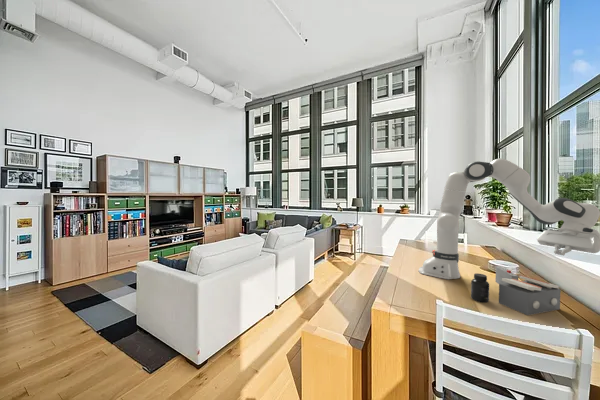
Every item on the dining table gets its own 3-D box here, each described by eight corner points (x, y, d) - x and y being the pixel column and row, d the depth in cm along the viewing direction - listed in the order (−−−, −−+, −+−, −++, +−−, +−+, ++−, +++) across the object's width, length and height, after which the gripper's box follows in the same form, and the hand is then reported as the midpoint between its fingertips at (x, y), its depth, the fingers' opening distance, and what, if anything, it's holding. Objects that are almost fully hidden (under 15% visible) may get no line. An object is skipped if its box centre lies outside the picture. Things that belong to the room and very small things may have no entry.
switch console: (528, 315, 95) (529, 294, 95) (498, 303, 106) (499, 283, 106) (561, 309, 100) (562, 289, 100) (529, 298, 111) (529, 279, 111)
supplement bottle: (467, 296, 113) (467, 272, 112) (480, 296, 113) (480, 272, 113) (479, 303, 106) (479, 277, 105) (492, 302, 106) (493, 277, 106)
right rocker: (546, 287, 99) (547, 282, 99) (518, 279, 109) (519, 274, 109) (558, 290, 101) (559, 285, 101) (530, 282, 111) (531, 277, 111)
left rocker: (527, 291, 96) (528, 285, 96) (501, 282, 106) (502, 277, 106) (540, 292, 98) (541, 287, 98) (513, 283, 108) (514, 278, 108)
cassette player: (517, 293, 117) (518, 274, 116) (511, 293, 117) (512, 273, 117) (501, 282, 132) (501, 265, 131) (495, 281, 132) (496, 264, 132)
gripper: (542, 224, 119) (528, 244, 117) (602, 231, 99) (587, 255, 97) (548, 233, 120) (534, 252, 118) (608, 240, 100) (593, 264, 98)
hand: (558, 253), depth 107 cm, fingers closed
